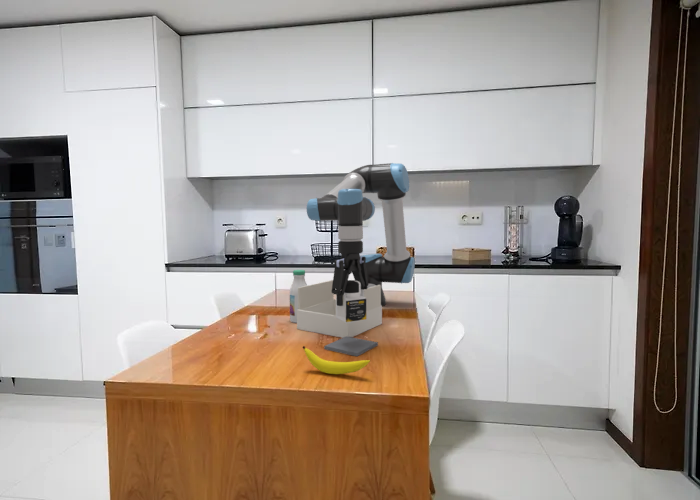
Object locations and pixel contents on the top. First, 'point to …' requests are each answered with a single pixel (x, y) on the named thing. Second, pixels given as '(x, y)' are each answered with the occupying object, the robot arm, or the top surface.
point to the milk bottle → (296, 293)
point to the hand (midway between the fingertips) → (351, 312)
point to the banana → (334, 364)
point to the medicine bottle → (353, 303)
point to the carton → (334, 311)
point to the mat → (351, 346)
